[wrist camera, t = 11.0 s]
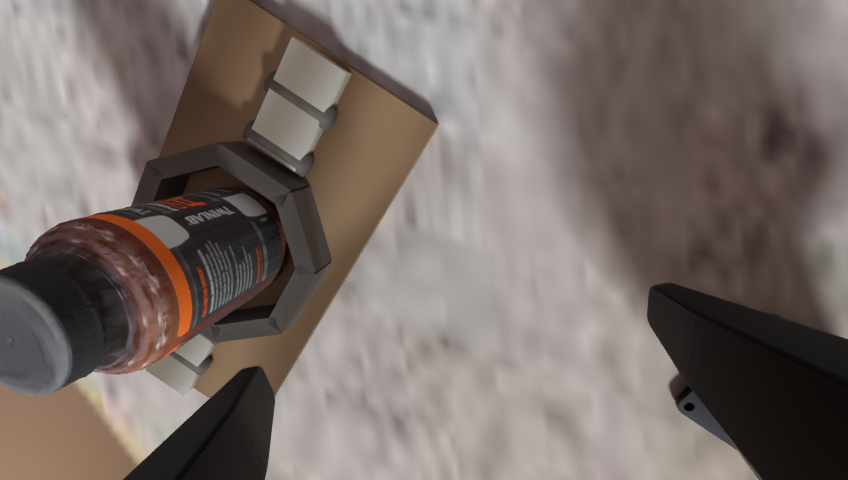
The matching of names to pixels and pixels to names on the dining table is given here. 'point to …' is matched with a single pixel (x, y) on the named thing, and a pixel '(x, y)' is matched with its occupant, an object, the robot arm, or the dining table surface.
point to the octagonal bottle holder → (281, 178)
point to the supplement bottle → (133, 285)
